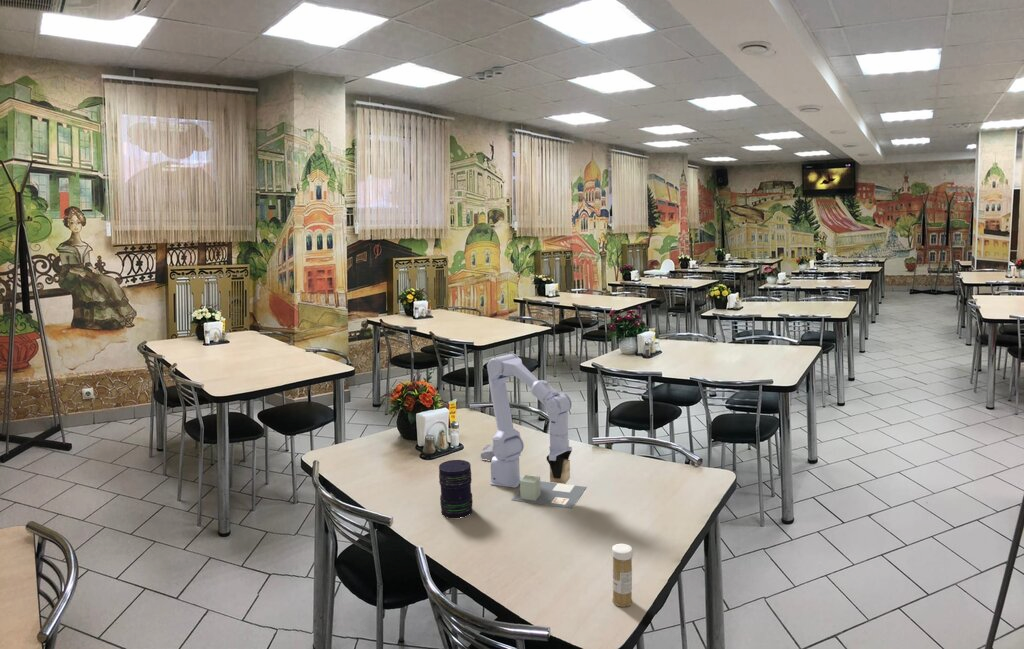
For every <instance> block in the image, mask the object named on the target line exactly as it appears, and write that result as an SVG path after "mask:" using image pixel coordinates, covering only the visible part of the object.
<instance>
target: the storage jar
mask: <svg viewBox="0 0 1024 649" xmlns="http://www.w3.org/2000/svg"><path fill="white" fill-rule="evenodd" d="M471 466H472V465H471V463H470V462H469V461H467V460H463V459H451V460H446V461H444V462H441V463H440V464H439V466H438V472H439V474H438V479H439V480H438V482H439V486H440V497H439V500H440V509H441V510H440V511H441V512H440V514H441V513H442V514H441V516H442V515H444V516H445V517H444V516H443V517H444V518H446V517H448V518H447V519H450V518H460V517H464V518H466V517H465V516H467V515H469V514H470V515H471V514H472V513H473V510H474V509H473V503H474V502H473V493H472V490H471V489H472V486H471V485H472V484H471V483H472V470H471V469H472V468H471ZM470 515H469V516H470ZM467 517H468V516H467ZM460 519H461V518H460Z"/></svg>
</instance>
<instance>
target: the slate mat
mask: <svg viewBox="0 0 1024 649" xmlns="http://www.w3.org/2000/svg"><path fill="white" fill-rule="evenodd" d="M586 489H587V486H580V485H575V484H567V483H566V484H562V483H554V482H550V481H541V480H540V493H541V495H540V496H539V497H538V498H537V499H536V501H533V500H525V499H521V494H520V490H519V491H518V493H517V492H516V494H515V496H514V497H512V498H511V501H516V502H520V503H522V502H523V503H530V504H537V505H544V506H550V507H559V508H560V507H561V508H566V509H573V508H574V506H576V503H577V502H578V500H579V498H580V497H581V496H582V494H583V493H584V491H585V490H586Z"/></svg>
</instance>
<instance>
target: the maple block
mask: <svg viewBox="0 0 1024 649" xmlns="http://www.w3.org/2000/svg"><path fill="white" fill-rule="evenodd" d="M570 479H571V459H568V460H567V459H565V460H564V462H563V466H562V473H561V478H560V479H557V478H554V477H553V474H552V470H551V467H550V466H549V482H551V483H559V484H567V482H568V481H569V480H570Z"/></svg>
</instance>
